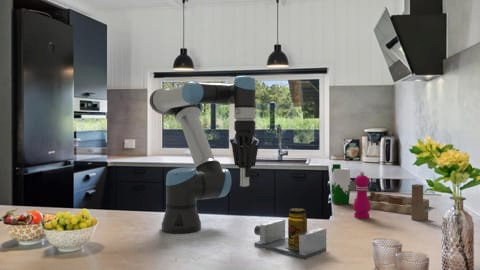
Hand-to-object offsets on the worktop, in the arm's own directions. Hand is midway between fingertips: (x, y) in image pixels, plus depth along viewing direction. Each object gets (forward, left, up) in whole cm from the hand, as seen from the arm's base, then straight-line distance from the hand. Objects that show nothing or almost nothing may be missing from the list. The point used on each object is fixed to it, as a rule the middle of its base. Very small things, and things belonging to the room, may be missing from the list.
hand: (244, 185), depth 149 cm
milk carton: (-9, +82, -19) cm, 85 cm away
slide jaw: (+10, 0, -17) cm, 20 cm away
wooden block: (+35, +72, -19) cm, 82 cm away
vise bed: (+20, 0, -18) cm, 27 cm away
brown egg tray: (+14, +92, -18) cm, 95 cm away
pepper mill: (+15, +59, -19) cm, 64 cm away
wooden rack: (+13, +93, -19) cm, 96 cm away
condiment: (+23, +1, -17) cm, 29 cm away
